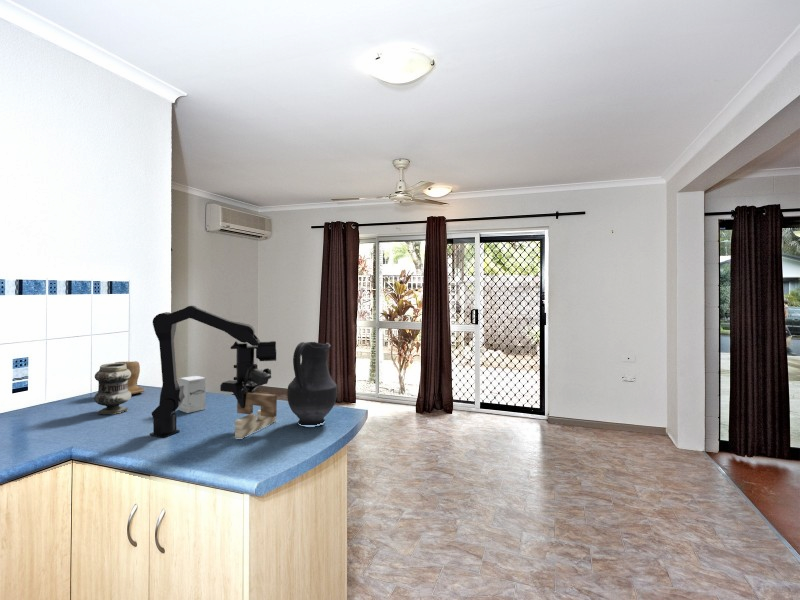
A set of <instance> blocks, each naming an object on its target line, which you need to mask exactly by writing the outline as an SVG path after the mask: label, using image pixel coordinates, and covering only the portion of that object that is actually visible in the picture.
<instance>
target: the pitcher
mask: <svg viewBox="0 0 800 600" xmlns="http://www.w3.org/2000/svg"><path fill="white" fill-rule="evenodd" d="M330 348H331V344H330V343H329V342H326V343H320V342H318V341H317V342H316V341H308V342H307V341H306V342H304V341H303V342H302V341H301V342H299V343H298V344H297V345H296V347H295V349H294V352H293V357H292V362H293V370H294V376H295V377H294V378H293V379H292V380H291V381H290V383H289V384H288V385H287V392H286V393H287V394H286V395H287V404H288V407H289V408H290V410H291V412H292V413H293V414H294V416H295V415H296V417H297V418H298V419H299V420H298V421H297V424H298V423H299V424H301V425H317V424H320V423H323V422H324V421H326V419H325V417H326V416H327V415H328V414H329V413H330V412H331V411H332V409H333V408H334V406H335V404H336V402H337V397H338V385H337V383H336V382H335V381H334V380H333V379H332V378H333V377H332V376H331V373H330V371H329V366H328V352H329V349H330Z"/></svg>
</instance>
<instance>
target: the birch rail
mask: <svg viewBox="0 0 800 600" xmlns="http://www.w3.org/2000/svg"><path fill="white" fill-rule="evenodd" d="M256 412H257V413H256V414H254V413H251V414H246V415H245V416H242V417H240V418H238V419H236V420H235V421H234V439H235V438H243V437H245V436H247V435H249V434H251V433H253V432H255V431H257V430H259V429H261V428H263V427H265V426H267V425H269V424H271V423H273V422H275V421H276V422H277V416H275V417H267V416H261V408H260V409H258V410H257V411H256Z"/></svg>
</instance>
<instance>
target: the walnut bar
mask: <svg viewBox="0 0 800 600" xmlns="http://www.w3.org/2000/svg"><path fill="white" fill-rule="evenodd" d="M277 398H278V396H277V394H271V393H261V392H247V393H246V401H245V408H241V406H240V404H239V402H238V401H237V400H236V401H237V402H236V408H237V409H236V413H237V414H241V415H243V414H244V415H249V414H254V406H257V407H260V409H261V416H267V417H275V416H276V417H277V416H278V415H277V411H278V409H277V408H278V407H277V406H278V405H277V401H278V399H277Z"/></svg>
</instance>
